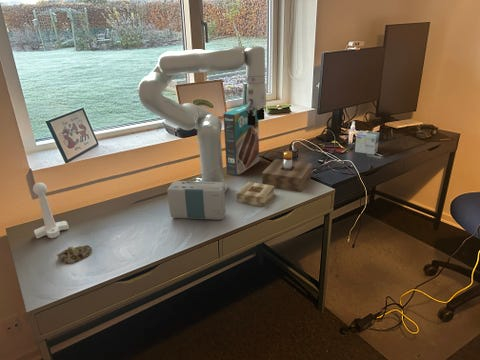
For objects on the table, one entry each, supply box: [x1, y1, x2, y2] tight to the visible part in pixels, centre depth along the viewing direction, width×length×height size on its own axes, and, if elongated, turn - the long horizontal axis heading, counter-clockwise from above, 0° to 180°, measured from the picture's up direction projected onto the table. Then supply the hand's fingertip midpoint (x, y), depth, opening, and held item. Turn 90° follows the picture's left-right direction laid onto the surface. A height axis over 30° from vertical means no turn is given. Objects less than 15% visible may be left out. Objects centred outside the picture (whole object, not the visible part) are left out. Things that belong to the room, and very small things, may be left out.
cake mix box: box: [222, 103, 260, 177], centre depth 184 cm, size 22×6×30 cm, turn 148°
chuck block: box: [261, 158, 313, 193], centre depth 171 cm, size 18×18×6 cm
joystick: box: [32, 181, 70, 239], centre depth 133 cm, size 11×8×20 cm
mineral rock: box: [56, 244, 93, 265], centre depth 123 cm, size 11×4×8 cm
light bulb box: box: [354, 130, 380, 155], centre depth 202 cm, size 11×7×11 cm, turn 58°
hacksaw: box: [312, 157, 347, 174], centre depth 188 cm, size 24×10×2 cm, turn 122°
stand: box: [236, 181, 275, 207], centre depth 157 cm, size 12×12×4 cm
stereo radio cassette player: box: [167, 167, 226, 221], centre depth 142 cm, size 21×8×20 cm, turn 82°
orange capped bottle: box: [282, 150, 293, 171], centre depth 169 cm, size 4×4×11 cm
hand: (256, 122), depth 154 cm, fingers open, 9 cm apart
